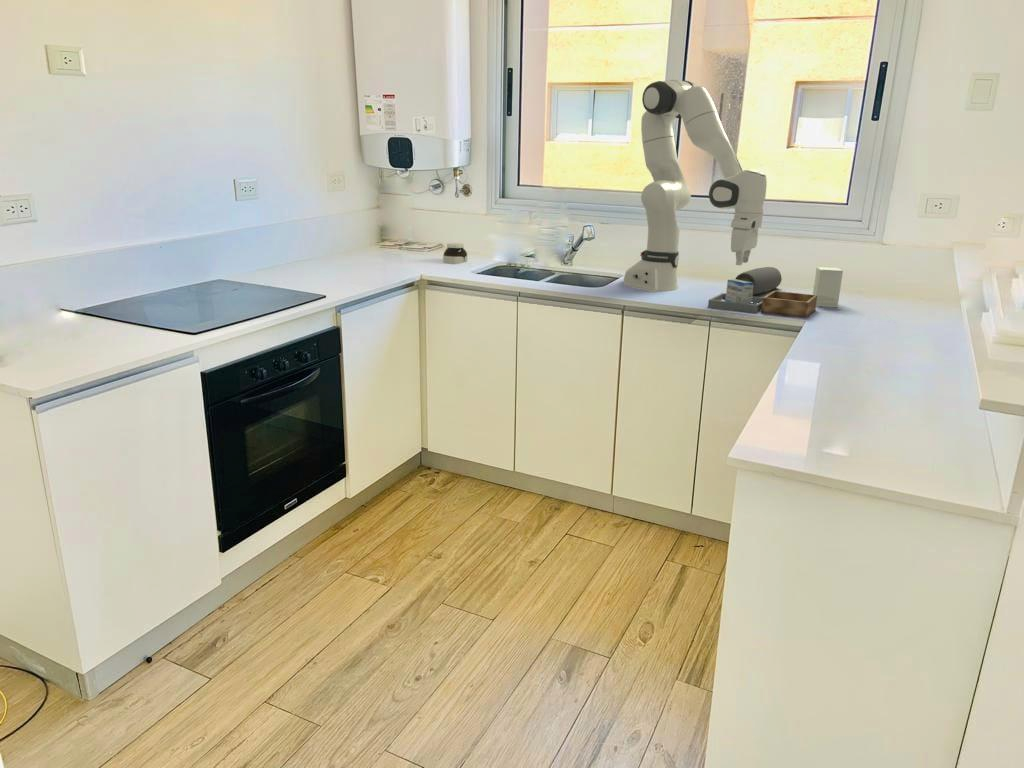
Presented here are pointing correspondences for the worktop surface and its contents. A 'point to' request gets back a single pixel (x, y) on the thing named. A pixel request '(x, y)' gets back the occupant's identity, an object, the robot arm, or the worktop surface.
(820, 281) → the supplement box
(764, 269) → the bluetooth speaker
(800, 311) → the walnut crate
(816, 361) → the worktop surface
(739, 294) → the medicine box
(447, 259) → the spread jar
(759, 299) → the tray
